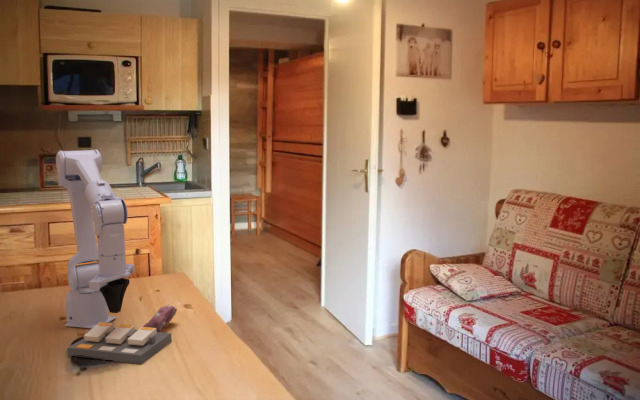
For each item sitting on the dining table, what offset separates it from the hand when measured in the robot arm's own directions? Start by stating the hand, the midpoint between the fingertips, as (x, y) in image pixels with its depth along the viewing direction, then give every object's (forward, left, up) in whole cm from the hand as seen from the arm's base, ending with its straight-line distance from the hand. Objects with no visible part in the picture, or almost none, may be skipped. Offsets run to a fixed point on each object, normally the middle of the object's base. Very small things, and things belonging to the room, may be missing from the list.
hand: (115, 311), depth 129 cm
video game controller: (+4, +12, -9) cm, 15 cm away
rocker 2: (+2, -1, -5) cm, 5 cm away
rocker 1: (-4, -1, -5) cm, 6 cm away
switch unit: (+2, -1, -8) cm, 8 cm away
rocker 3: (+7, -1, -5) cm, 9 cm away
